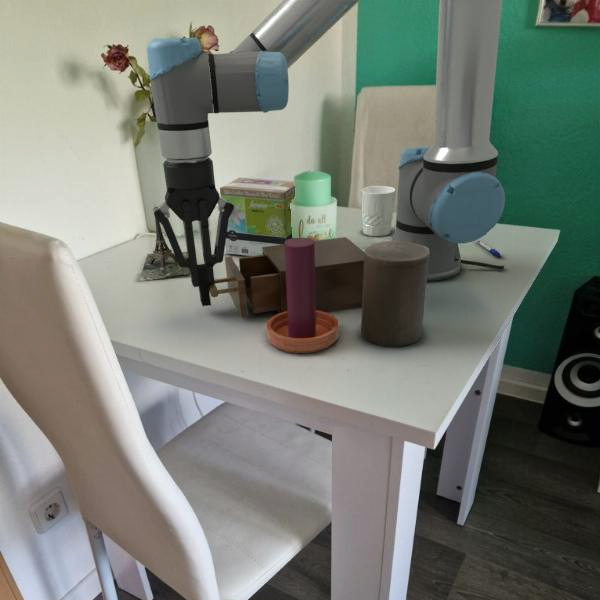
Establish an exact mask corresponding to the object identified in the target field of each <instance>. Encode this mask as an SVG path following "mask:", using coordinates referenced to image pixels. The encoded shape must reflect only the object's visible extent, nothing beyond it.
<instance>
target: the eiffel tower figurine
mask: <svg viewBox="0 0 600 600" xmlns="http://www.w3.org/2000/svg"><path fill="white" fill-rule="evenodd" d="M153 205H154V207H153V209H154V208H155V207H156V204H155V202H153ZM154 222H155V233H156V234H155V235H156V239H155V242H156V243H155V248H154V250H152V253H147V254H146V257H145V261H144V264H143V268H142V270H141V274H140V277H139V282H143V281H153V280H159V279H165V278H171V277H175V276H176V277H177V276H182V275H189V273H190V269H189V268H187V267H180V266H179V264H178V261H177V259H176V256H175V254H174V252H173V249H170V248H169V246H168V244H167V242H166V239H165V237H164V234H163V230H162V227H161V223H160V222H159V221H158V220H157V218H156V217H155V216H154ZM182 254H183V256H184V257H185V258H188V254H187V251H182Z"/></svg>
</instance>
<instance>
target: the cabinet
mask: <svg viewBox="0 0 600 600" xmlns="http://www.w3.org/2000/svg"><path fill="white" fill-rule="evenodd" d="M314 242H315V304H316V310H320V311H323V312H332V311H340V310H346V309H352V308H353V309H354V308H359V307H362V296H363V273H364V251H363V250H362V249H361V248H360V247H359V246H357V244H355V243H354V242H353V241H352V240H350V239H349V238H348V237H346V236H343V237H335V238H327V239H319V240H314ZM264 254H265V255H266V256H267V258H268V259H269V260H270V262H271V263H272V265H273V266H274V267H275V269H276V270H277V271H278V273H279V275H280V294H281V310H277V312H278V314H279V313H282V312H285V311H287V290H286V267H285V245H276V246H267V247H262V255H264Z"/></svg>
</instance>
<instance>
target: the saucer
mask: <svg viewBox="0 0 600 600" xmlns="http://www.w3.org/2000/svg"><path fill="white" fill-rule="evenodd" d="M265 330H266V338H267V340H268V342H269V343H270V344H271V345H273V346H274V347H275V348H276V349H279V350H281V351H284V352H287V353H293V354H311V353H316V352H320V351H322V350H325V349H327V348H329V347H330V346H331V345H333V344H334V343H335V342H336V341H337V340H338V338H339V335H340V334H339V333H340V332H339V331H340V324H339V320H338V319H337V317H336V316H334V315H333V314H331V313H329V312H328V311H326V312H323V311H320V310H316V336H315V337H312V338H290V337H289V335H288V312H287V311H285V312H282V313H279V312H278V313H277V314H275V315H273V316H271V317H270V319H269V320H267V322H266V329H265Z"/></svg>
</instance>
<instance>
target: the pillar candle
mask: <svg viewBox="0 0 600 600" xmlns="http://www.w3.org/2000/svg"><path fill="white" fill-rule="evenodd" d="M363 252H364V273H363V296H362V306H361V323H360V326H361V327H360V332H361V336H362V337H363V338H364V339H365V340H366V341H368V342H369V343H372V344H374V345H379V346H383V347H389V348H395V347H405V346H409V345H412V344H415V343H416V342H418V341H419V340H420V339H421V338H422V333H423V325H424V324H423V323H424V314H425V304H426V294H427V282H428V281H427V274H428V263H429V248H427V247H426V246H423V245H419V244H417V243H412V242H402V241H391V240H382V241H378V242H375V243H372V244H369V245H367V246H366V247H365V248H364V251H363Z"/></svg>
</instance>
